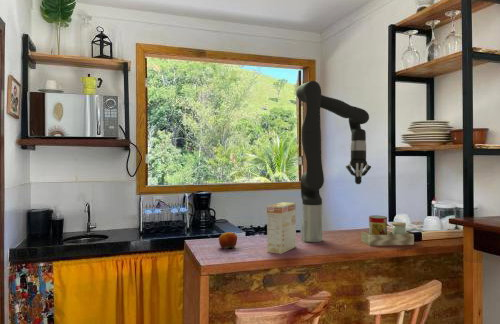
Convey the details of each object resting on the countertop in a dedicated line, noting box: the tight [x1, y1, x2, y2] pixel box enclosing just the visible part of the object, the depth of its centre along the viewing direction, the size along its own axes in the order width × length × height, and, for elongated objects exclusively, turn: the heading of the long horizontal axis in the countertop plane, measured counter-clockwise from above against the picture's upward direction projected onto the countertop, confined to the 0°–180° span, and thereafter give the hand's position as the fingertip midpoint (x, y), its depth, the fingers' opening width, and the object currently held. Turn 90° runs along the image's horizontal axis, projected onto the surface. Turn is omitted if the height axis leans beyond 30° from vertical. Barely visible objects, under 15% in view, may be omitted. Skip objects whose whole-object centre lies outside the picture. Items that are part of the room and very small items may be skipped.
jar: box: [392, 221, 407, 235], centre depth 170 cm, size 6×6×9 cm
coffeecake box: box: [266, 201, 297, 255], centre depth 158 cm, size 15×7×20 cm, turn 149°
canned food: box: [368, 214, 388, 235], centre depth 170 cm, size 8×8×12 cm
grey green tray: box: [361, 230, 415, 247], centre depth 169 cm, size 20×10×4 cm, turn 93°
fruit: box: [218, 231, 238, 250], centre depth 161 cm, size 8×8×8 cm
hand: (358, 184), depth 187 cm, fingers closed
